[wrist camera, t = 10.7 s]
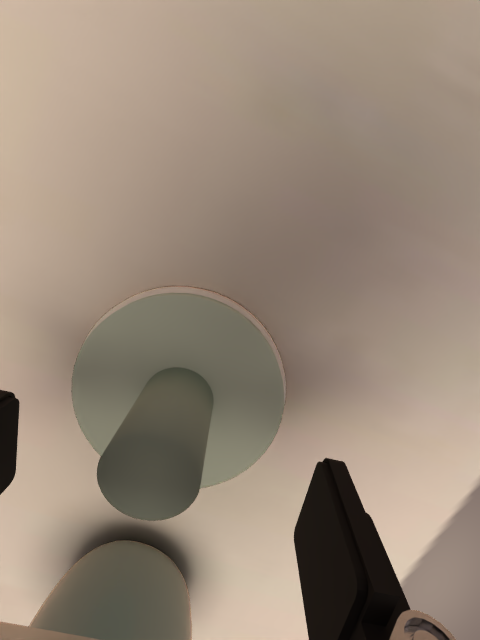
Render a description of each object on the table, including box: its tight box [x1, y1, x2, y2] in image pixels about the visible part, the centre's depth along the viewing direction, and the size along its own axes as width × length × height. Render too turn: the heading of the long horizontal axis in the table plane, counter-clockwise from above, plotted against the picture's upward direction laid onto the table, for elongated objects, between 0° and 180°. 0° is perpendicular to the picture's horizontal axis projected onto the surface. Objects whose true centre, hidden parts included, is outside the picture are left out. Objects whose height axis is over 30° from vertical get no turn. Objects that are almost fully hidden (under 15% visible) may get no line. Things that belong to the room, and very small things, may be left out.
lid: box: [71, 293, 284, 521], centre depth 13 cm, size 10×10×6 cm
